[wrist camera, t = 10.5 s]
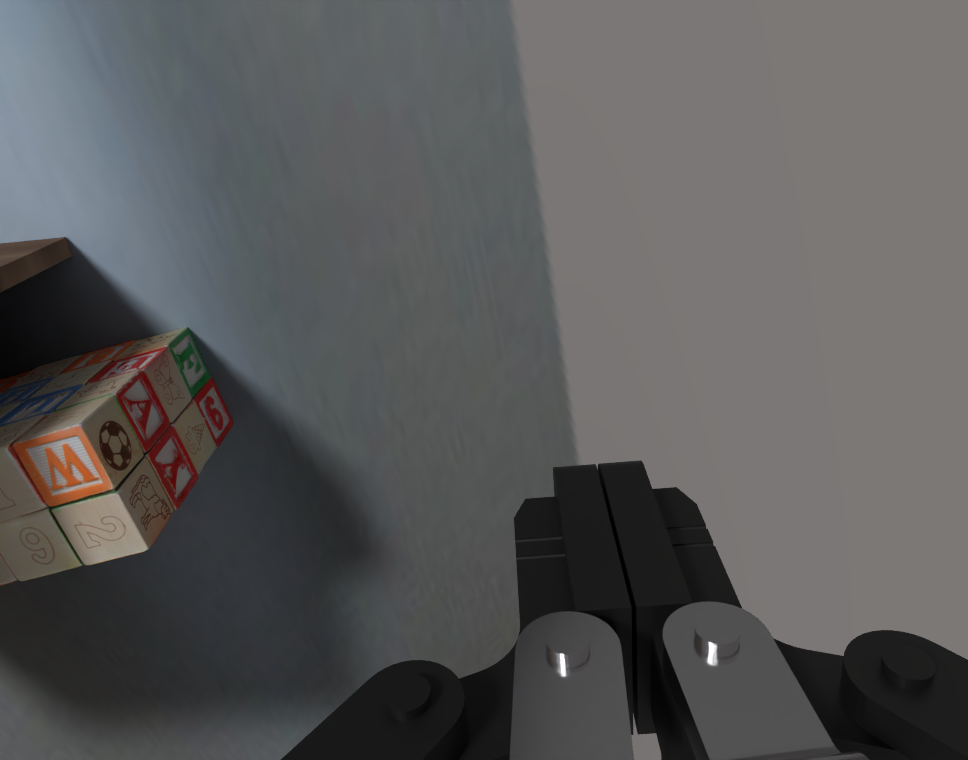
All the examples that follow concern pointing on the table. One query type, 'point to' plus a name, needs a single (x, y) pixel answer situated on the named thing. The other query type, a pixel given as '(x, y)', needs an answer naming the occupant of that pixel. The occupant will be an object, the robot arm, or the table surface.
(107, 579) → the table surface
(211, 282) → the table surface
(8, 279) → the overhang shelf
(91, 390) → the stack of blocks
